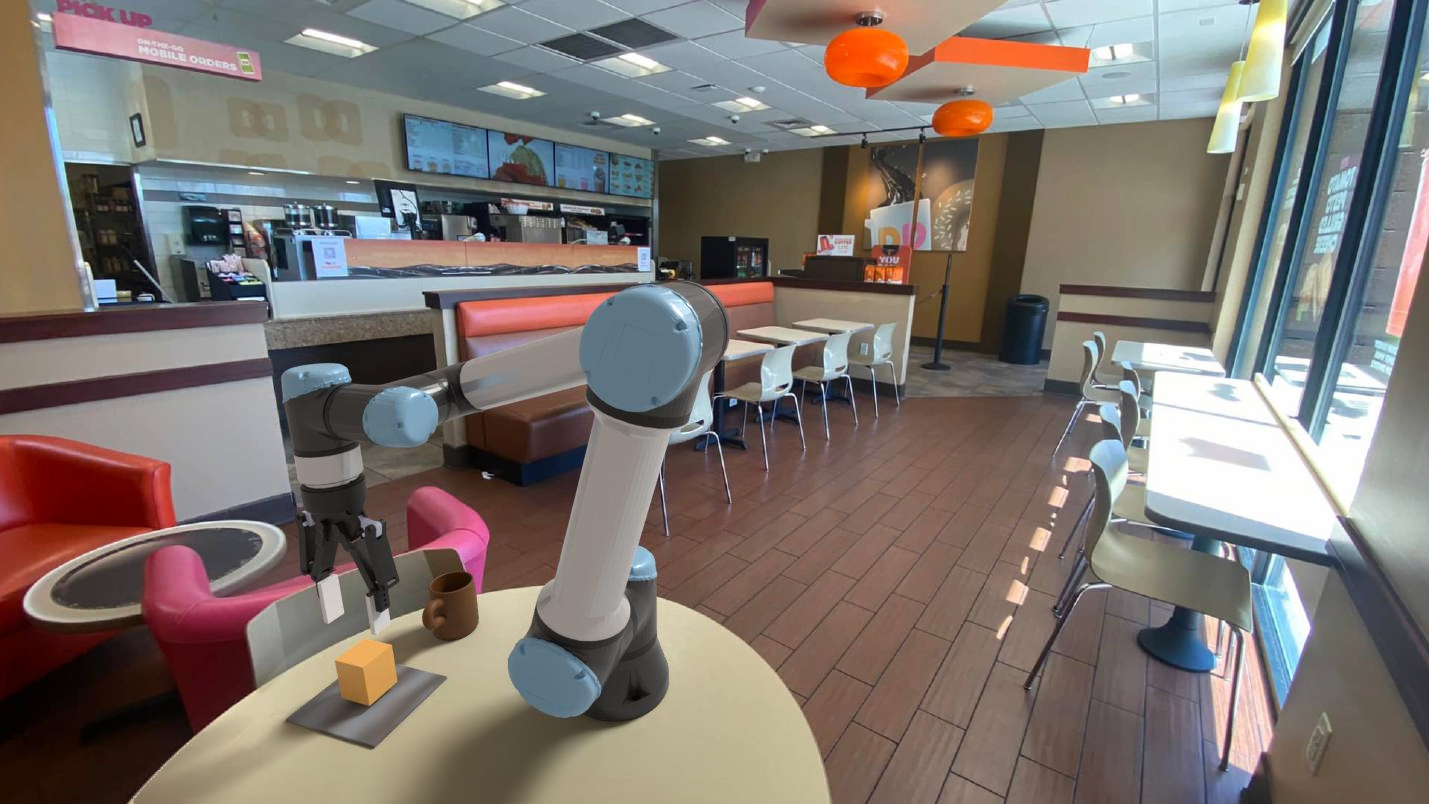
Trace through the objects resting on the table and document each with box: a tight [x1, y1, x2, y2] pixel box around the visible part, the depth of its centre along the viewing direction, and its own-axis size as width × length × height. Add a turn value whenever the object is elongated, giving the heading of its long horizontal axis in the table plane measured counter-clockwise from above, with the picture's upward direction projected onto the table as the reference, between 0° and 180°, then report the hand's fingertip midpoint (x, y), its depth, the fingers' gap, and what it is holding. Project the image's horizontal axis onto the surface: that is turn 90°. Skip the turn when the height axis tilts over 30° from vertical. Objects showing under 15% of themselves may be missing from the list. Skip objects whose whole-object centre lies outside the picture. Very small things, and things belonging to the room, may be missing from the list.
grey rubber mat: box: [285, 663, 448, 749], centre depth 88 cm, size 16×14×7 cm
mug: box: [421, 570, 480, 641], centre depth 103 cm, size 12×8×9 cm, turn 172°
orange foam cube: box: [334, 638, 397, 706], centre depth 88 cm, size 5×5×7 cm
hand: (357, 623), depth 86 cm, fingers open, 8 cm apart
